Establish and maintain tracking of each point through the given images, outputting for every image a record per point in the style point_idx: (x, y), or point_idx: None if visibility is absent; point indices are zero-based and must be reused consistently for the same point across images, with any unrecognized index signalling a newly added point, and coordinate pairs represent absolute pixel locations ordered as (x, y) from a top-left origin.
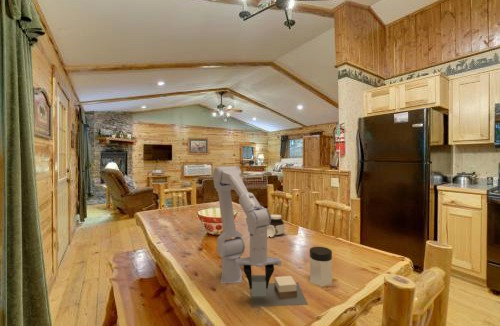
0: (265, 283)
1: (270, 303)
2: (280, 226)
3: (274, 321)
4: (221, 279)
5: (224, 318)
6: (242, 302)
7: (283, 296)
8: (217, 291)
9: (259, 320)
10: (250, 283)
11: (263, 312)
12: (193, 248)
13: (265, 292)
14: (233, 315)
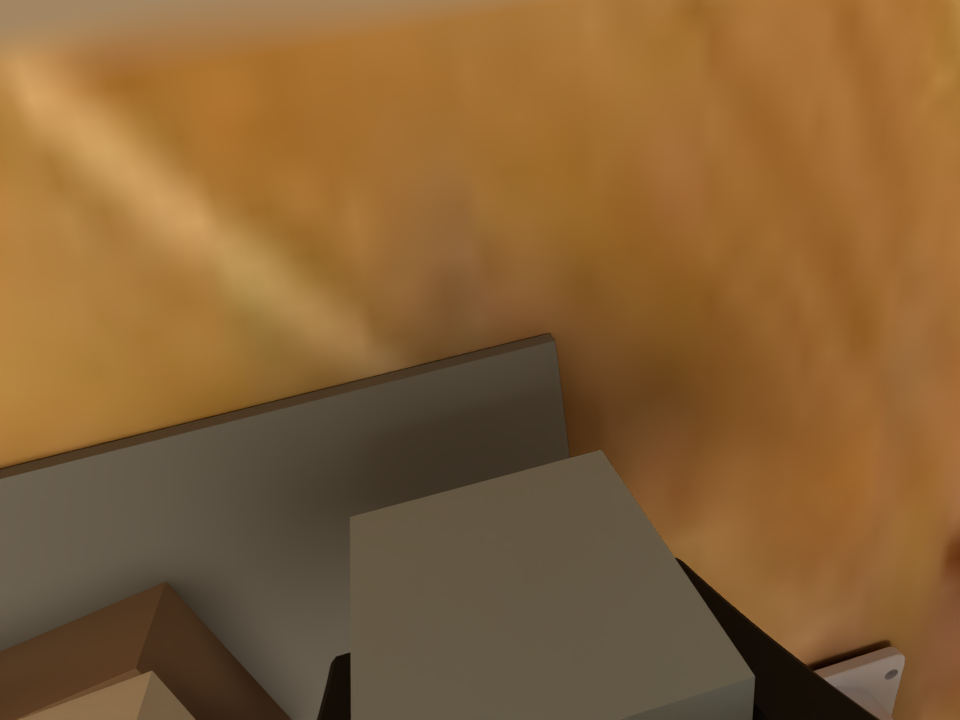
0: None
1: (286, 461)
2: None
3: (114, 40)
4: (892, 697)
5: (920, 21)
6: (672, 415)
7: (103, 630)
8: (934, 531)
9: (394, 36)
10: (742, 648)
11: (361, 260)
12: None
13: (361, 557)
14: (794, 114)
